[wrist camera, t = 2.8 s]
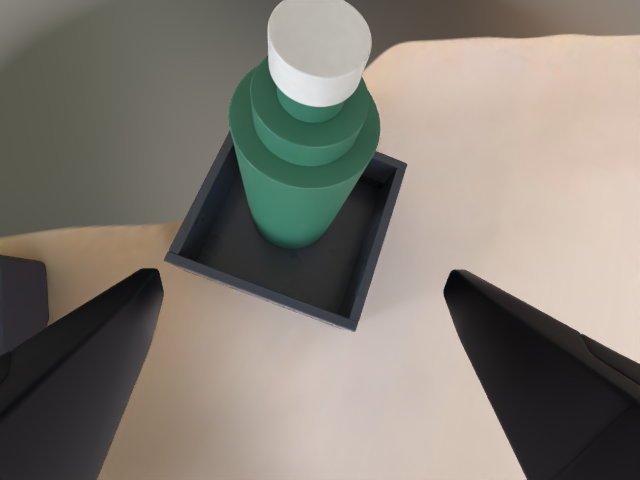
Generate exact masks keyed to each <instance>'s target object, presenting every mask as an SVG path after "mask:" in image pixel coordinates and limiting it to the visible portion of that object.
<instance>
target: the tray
mask: <svg viewBox="0 0 640 480" xmlns="http://www.w3.org/2000/svg"><path fill="white" fill-rule="evenodd" d="M406 167H407V164H406V163H404V162H401V161H399V160H397V159H394V158H392V157H389V156H387V155H384V154H382V153H379V152H377V151H375V153H374V155H373V157H372V159H371V160H370V162H369V163H368V165H367V167H366V168H365V170H364V171H363V173H362V175H361V176H360V178H359V180H358V181H357V183H356V184H355V186H354V188H353V189H352V191H351V192H350V194H349V196H348V197H347V199H346V200H345V202H344V204H343V205H342V207H341V209H340V210H339V212H338V213H337V215H336V217H335V218H334V220H333V221H332V223H331V225H330V226H329V228H328V229H327V231H326V233H325V234H324V235H323V236H322V237H321V238H320V239H319V240H318V241H316V242H315V243H313V244H311V245H309V246H307V247H303V248H299V249H287V248H282V247H279V246H276V245H274V244H272V243H270V242H268V241H267V240H266V239H265V238H263V237H262V236H261V234H260V233H259V232H258V231H257V229H256V227H255V225H254V223H253V220H252V217H251V213H250V209H249V205H248V201H247V197H246V192H245V188H244V184H243V180H242V176H241V172H240V168H239V164H238V160H237V156H236V152H235V147H234V143H233V139H232V135H231V131H229V133H228V135H227V137H226V139H225V141H224V143H223V145H222V147H221V149H220V151H219V153H218V155H217V157H216V159H215V161H214V163H213V165H212V167H211V169H210V171H209V173H208V174H207V177H206V178H205V180H204V182H203V184H202V186H201V188H200V190H199V192H198V194H197V196H196V198H195V200H194V202H193V204H192V206H191V208H190V210H189V212H188V214H187V216H186V218H185V220H184V222H183V223H182V225H181V227H180V229H179V231H178V233H177V235H176V237H175V239H174V241H173V243H172V245H171V247H170V249H169V252H168V253H167V255H166V257H165V259H164V261H165V262H168V263H170V264H172V265H174V266H176V267H178V268H180V269H182V270H184V271H187V272H190V273H192V274H195V275H198V276H200V277H203V278H206V279H208V280H211V281H214V282H217V283H219V284H222V285H225V286H227V287H230V288H233V289H235V290H238V291H241V292H243V293H246V294H249V295H251V296H254V297H257V298H260V299H262V300H265V301H268V302H270V303H273V304H276V305H278V306H281V307H284V308H286V309H289V310H292V311H294V312H297V313H300V314H303V315H305V316H308V317H311V318H313V319H316V320H319V321H321V322H324V323H327V324H329V325H332V326H335V327H337V328H340V329H344V330H349V331H353V332H355V331H356V328H357V325H358V321H359V319H360V316H361V312H362V309H363V306H364V303H365V299H366V296H367V293H368V290H369V286H370V283H371V280H372V277H373V274H374V270H375V267H376V264H377V261H378V257H379V254H380V251H381V248H382V244H383V241H384V238H385V235H386V232H387V228H388V225H389V222H390V219H391V215H392V212H393V209H394V206H395V202H396V199H397V196H398V193H399V190H400V186H401V183H402V180H403V177H404V173H405V170H406Z"/></svg>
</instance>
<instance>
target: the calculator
mask: <svg viewBox="0 0 640 480" xmlns="http://www.w3.org/2000/svg"><path fill="white" fill-rule="evenodd" d="M48 319H49V314H48V299H47V285H46V271H45V265H44V263H43V262H41V261H36V260H30V259H23V258H17V257H11V256H4V255H0V356H1V355H2V354H4V353H6V352H7V351H12V349H13V348H14V347H15V346H17V345H19V344H20V343H22V342H23V341H25V340H27V339H28V338H30V337H32V336H33V335H35V334H36V333H38V332H40V331H41V330H43V329H45V327H46V324H47V321H48Z"/></svg>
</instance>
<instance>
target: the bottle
mask: <svg viewBox="0 0 640 480" xmlns="http://www.w3.org/2000/svg"><path fill="white" fill-rule="evenodd" d="M370 51H371V34H370V30H369V27H368V25H367V23H366V21H365V20H364V18H363V17H362V16H361V14H360V13H359V12H358V11H357V10H356V9H355V8H354V7H353V6H351V5H350V4H348V3H347V2H345V1H344V0H283V1H282V2H281V3H280V4H279V5H278V6H277V7H276V8H275V9H274V11H273V12H272V14H271V17H270V19H269V23H268V56H267V57H266V58H265V59H264V60H263V61H262V62H261V63H260V64H259V65H258V66H257V67H256V68H254V69H253V70H251V71H250V72H249V73H248V74H247V75H246V76H245V77H244V78H243V79H242V81H241V82H240V83H239V85H238V86H237V88H236V90H235V92H234V94H233V97H232V99H231V104H230V109H229V126H230V131H231V135H232V139H233V143H234V147H235V152H236V156H237V160H238V164H239V168H240V172H241V176H242V180H243V184H244V188H245V192H246V197H247V201H248V205H249V209H250V213H251V217H252V220H253V223H254V225H255V227H256V229H257V231H258V232H259V233H260V234H261V236H262V237H263V238H265V239H266V240H267V241H268V242H270V243H272V244H274V245H276V246H279V247H282V248H287V249H299V248H303V247H307V246H309V245H311V244H313V243H315V242H316V241H318V240H319V239H320V238H321V237H322V236H323V235H324V234H325V233H326V231H327V229H328V228H329V226H330V225H331V223H332V221H333V220H334V218H335V217H336V215H337V213H338V212H339V210H340V209H341V207H342V205H343V204H344V202H345V200H346V199H347V197H348V196H349V194H350V192H351V191H352V189H353V188H354V186H355V184H356V183H357V181H358V180H359V178H360V176H361V175H362V173H363V171H364V170H365V168H366V167H367V165H368V163H369V162H370V160H371V159H372V157H373V155H374V153H375V151H376V148H377V145H378V142H379V136H380V120H379V114H378V111H377V107H376V104H375V102H374V100H373V98H372V96H371V95H370V93H369V91H368V90H367V87H366V84H365V82H364V80H363V78H362V74H363V71H364V68H365V66H366V63H367V59H368V57H369V54H370Z"/></svg>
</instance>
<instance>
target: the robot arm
mask: <svg viewBox="0 0 640 480" xmlns="http://www.w3.org/2000/svg"><path fill="white" fill-rule="evenodd" d="M163 296H164V291H163V286H162V282H161V278H160V273H159V271H158V270H157V269H155V268H142V269H140V270H138V271H137V272H135V273H133V274H132V275H130V276H128V277H127V278H125V279H124V280H122V281H120V282H119V283H117V284H116V285H114V286H112V287H111V288H109V289H108V290H106V291H104V292H103V293H101V294H99V295H98V296H96V297H95V298H93V299H91V300H90V301H88V302H87V303H85V304H83V305H82V306H80V307H78V308H77V309H75V310H74V311H72V312H70V313H69V314H67V315H66V316H64V317H62V318H61V319H59V320H57V321H56V322H54V323H53V324H51V325H49V326H48V327H46V328H45V329H43V330H41V331H40V332H38V333H36V334H35V335H33V336H32V337H30V338H28V339H27V340H25V341H23V342H22V343H20V344H19V345H17V346H15V347H14V348H13V349H12V351H7V352H6V353H4V354H2V355H1V356H0V480H97V478H98V475H99V473H100V470H101V468H102V465H103V463H104V461H105V458H106V456H107V453H108V451H109V448H110V446H111V443H112V441H113V438H114V436H115V433H116V431H117V428H118V426H119V423H120V421H121V418H122V416H123V413H124V411H125V408H126V406H127V403H128V401H129V398H130V396H131V393H132V391H133V388H134V386H135V383H136V381H137V378H138V376H139V373H140V371H141V368H142V366H143V363H144V361H145V359H146V356H147V354H148V351H149V348H150V345H151V342H152V339H153V335H154V331H155V327H156V324H157V320H158V316H159V312H160V309H161V305H162V301H163ZM444 298H445V300H446V303H447V306H448V309H449V312H450V314H451V317H452V320H453V323H454V326H455V328H456V331H457V334H458V336H459V338H460V341H461V343H462V345H463V347H464V349H465V351H466V353H467V355H468V358H469V360H470V362H471V364H472V366H473V368H474V370H475V372H476V374H477V376H478V378H479V380H480V382H481V385H482V387H483V389H484V391H485V393H486V395H487V397H488V399H489V401H490V403H491V405H492V407H493V409H494V412H495V414H496V416H497V418H498V420H499V422H500V424H501V426H502V428H503V430H504V432H505V434H506V437H507V439H508V441H509V443H510V445H511V447H512V449H513V451H514V453H515V455H516V457H517V459H518V461H519V464H520V466H521V468H522V470H523V472H524V474H525V476H526V478H527V480H640V364H639V363H637V362H635V361H633V360H631V359H629V358H627V357H625V356H623V355H621V354H619V353H617V352H615V351H613V350H611V349H610V348H608V347H606V346H604V345H602V344H600V343H598V342H596V341H595V340H593V339H591V338H589V337H587V336H586V335H584V334H580V332H578V331H576V330H574V329H573V328H571V327H569V326H567V325H565V324H563V323H562V322H560V321H558V320H556V319H554V318H553V317H551V316H549V315H547V314H545V313H543V312H542V311H540V310H538V309H536V308H534V307H532V306H531V305H529V304H527V303H525V302H523V301H521V300H520V299H518V298H516V297H514V296H512V295H511V294H509V293H507V292H505V291H503V290H501V289H500V288H498V287H496V286H494V285H492V284H490V283H489V282H487V281H485V280H483V279H481V278H479V277H478V276H476V275H474V274H472V273H470V272H468V271H467V270H452V271H451V272H450V274H449V277H448V279H447V282H446V285H445V287H444Z"/></svg>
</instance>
